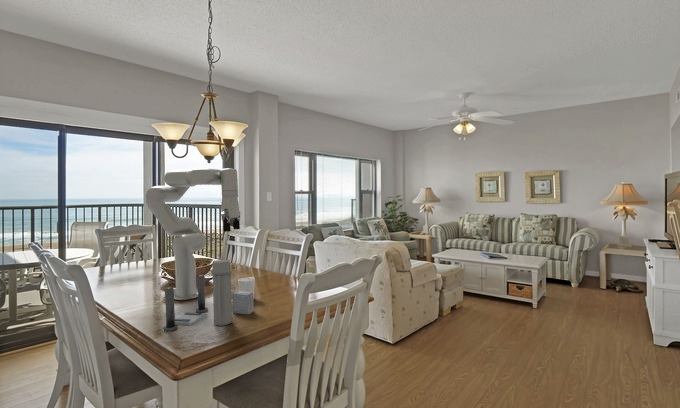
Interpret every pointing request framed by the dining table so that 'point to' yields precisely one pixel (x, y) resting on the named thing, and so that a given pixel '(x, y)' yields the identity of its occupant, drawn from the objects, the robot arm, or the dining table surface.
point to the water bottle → (222, 292)
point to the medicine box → (243, 302)
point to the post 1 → (170, 310)
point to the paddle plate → (189, 318)
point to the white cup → (247, 284)
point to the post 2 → (201, 294)
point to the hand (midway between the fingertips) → (232, 230)
